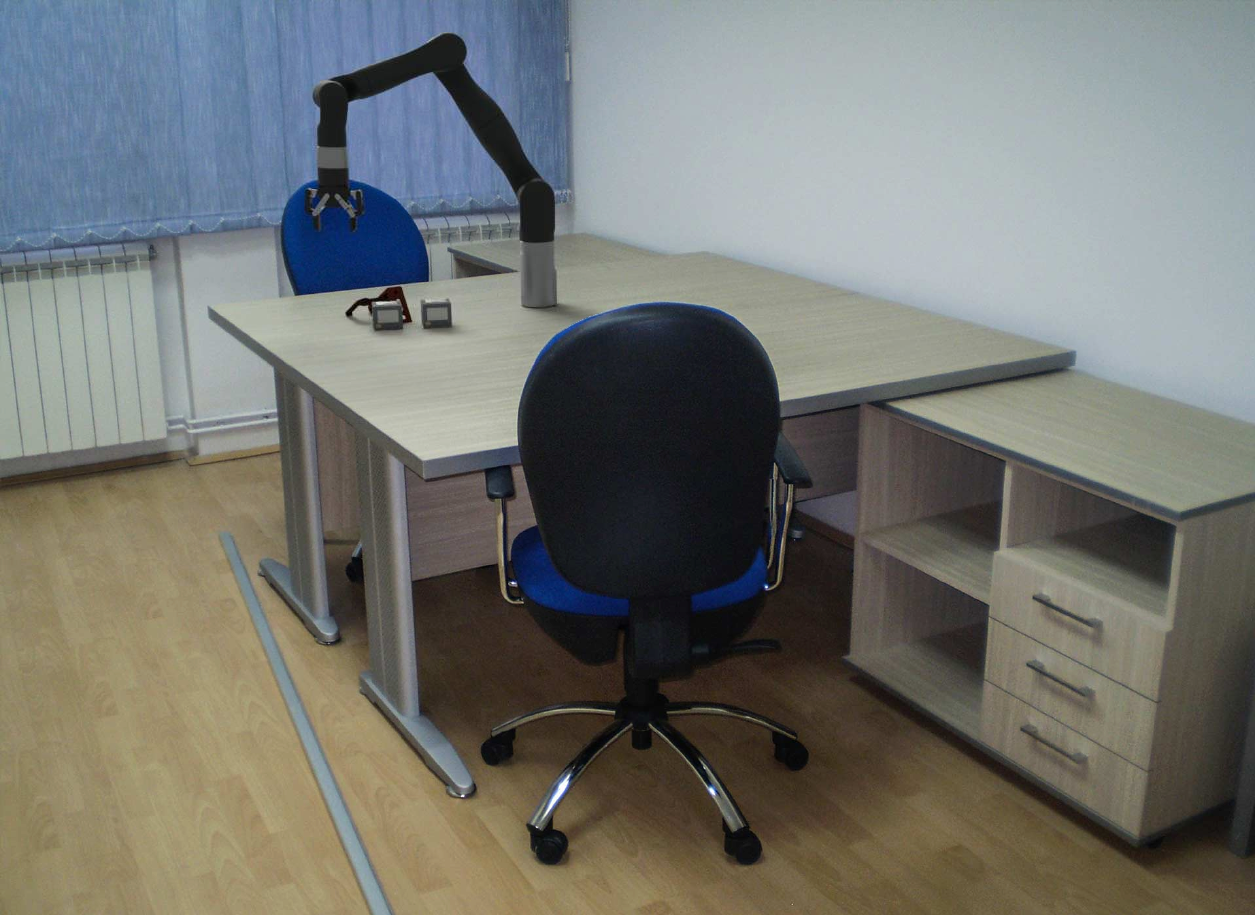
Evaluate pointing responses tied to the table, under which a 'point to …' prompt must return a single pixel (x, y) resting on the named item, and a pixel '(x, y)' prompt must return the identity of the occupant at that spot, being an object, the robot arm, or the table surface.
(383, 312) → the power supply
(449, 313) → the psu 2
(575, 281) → the table surface
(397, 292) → the bracket
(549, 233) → the robot arm
